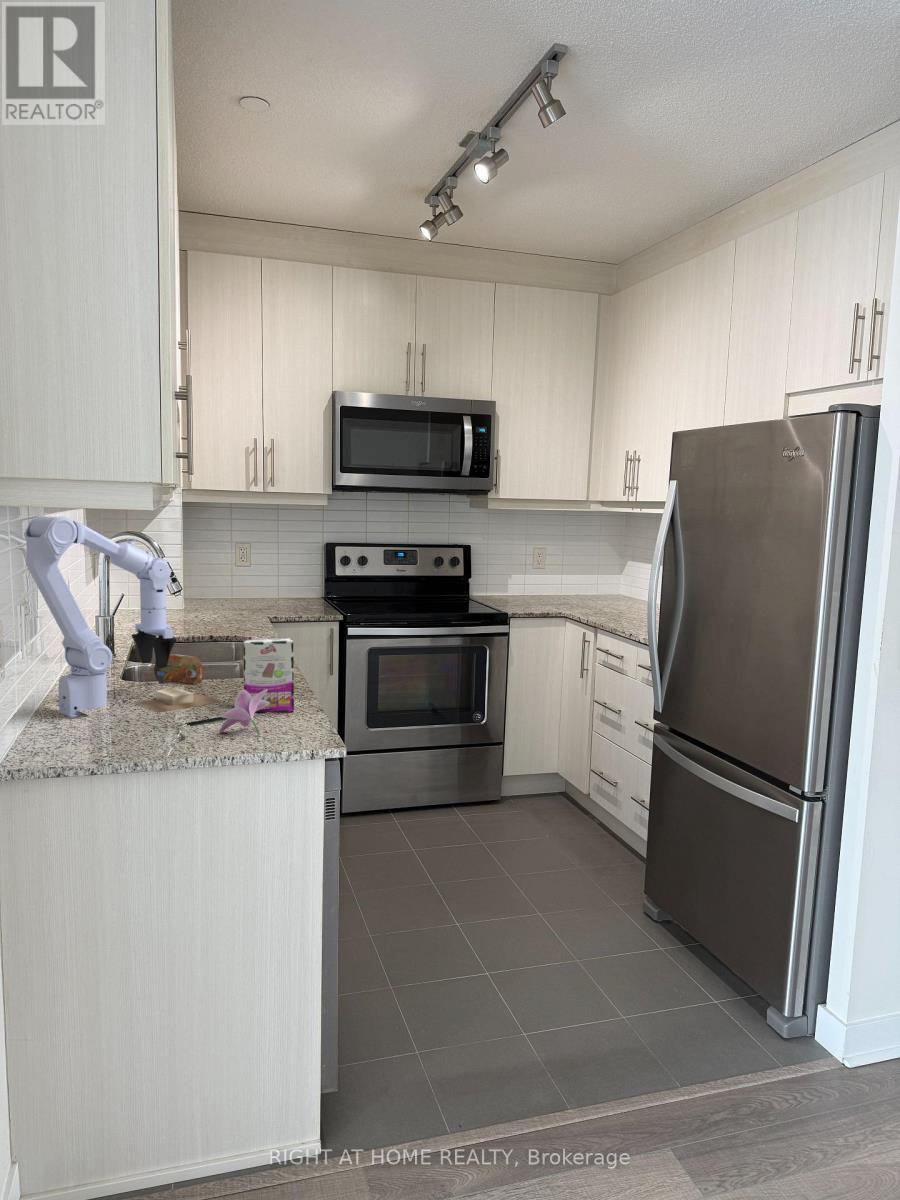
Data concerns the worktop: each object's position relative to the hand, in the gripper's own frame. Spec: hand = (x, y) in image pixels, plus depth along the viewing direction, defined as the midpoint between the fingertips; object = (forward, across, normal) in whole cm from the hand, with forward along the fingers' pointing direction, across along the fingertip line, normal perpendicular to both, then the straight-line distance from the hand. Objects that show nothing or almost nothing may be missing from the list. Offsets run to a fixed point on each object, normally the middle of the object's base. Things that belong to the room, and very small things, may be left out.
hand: (154, 665), depth 197 cm
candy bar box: (+9, -27, -14) cm, 31 cm away
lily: (+9, -40, 0) cm, 40 cm away
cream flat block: (+7, -10, 0) cm, 12 cm away
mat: (+8, -23, 0) cm, 25 cm away
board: (+8, -12, 0) cm, 14 cm away
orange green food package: (+9, +10, -12) cm, 18 cm away
